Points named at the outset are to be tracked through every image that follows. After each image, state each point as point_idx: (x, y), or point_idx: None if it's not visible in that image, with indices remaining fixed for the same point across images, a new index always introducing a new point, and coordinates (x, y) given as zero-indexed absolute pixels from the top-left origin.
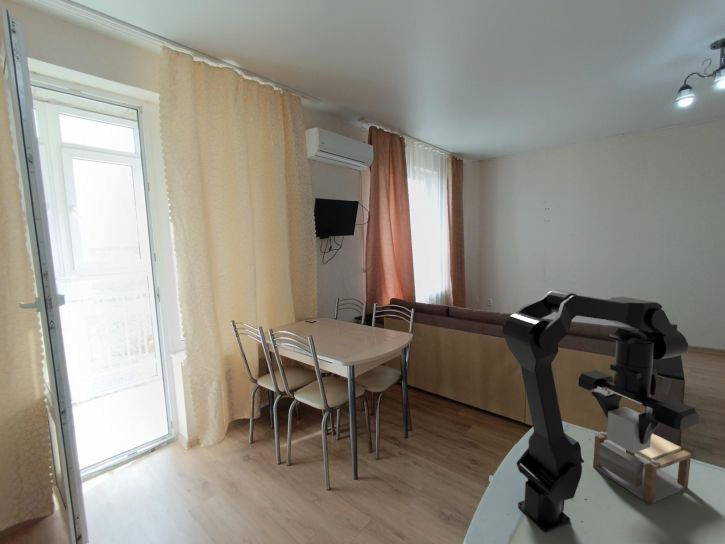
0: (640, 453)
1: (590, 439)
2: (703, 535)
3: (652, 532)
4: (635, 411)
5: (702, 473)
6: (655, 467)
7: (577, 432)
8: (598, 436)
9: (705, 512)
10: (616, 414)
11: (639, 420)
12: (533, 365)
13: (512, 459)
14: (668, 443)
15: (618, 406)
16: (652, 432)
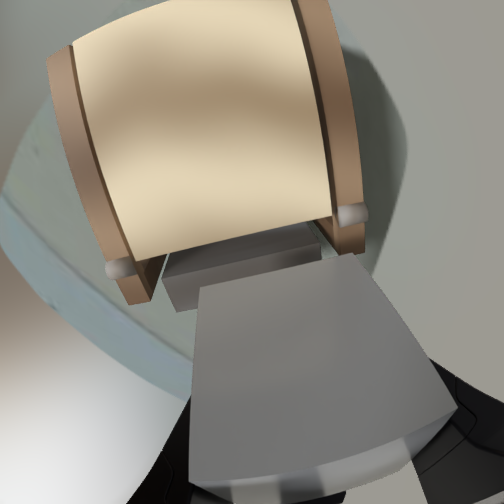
0: (283, 222)
1: (37, 149)
2: (402, 166)
3: (367, 261)
4: (307, 467)
5: None
6: (364, 236)
7: (13, 169)
8: (136, 299)
9: (361, 81)
10: (291, 502)
11: (427, 488)
12: None
13: (142, 377)
14: (241, 3)
15: (193, 495)
16: (438, 370)
